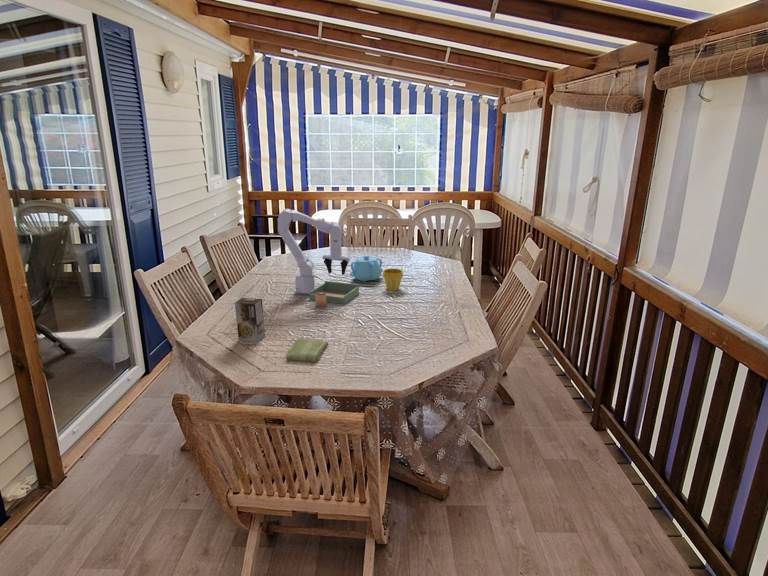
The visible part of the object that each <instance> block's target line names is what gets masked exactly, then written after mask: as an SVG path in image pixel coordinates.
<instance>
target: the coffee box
mask: <svg viewBox="0 0 768 576" xmlns="http://www.w3.org/2000/svg"><path fill="white" fill-rule="evenodd" d="M234 308H235V310H234V311H235V317H236V326H237V328H236V329H237V335H238V336H237V338H238V341H245V342H260V341H261V340H263V339H264V338H265V337H266V331H265V320H264V319H265V318H264V308H263V299H262V298H251V297H241V298H240V299H238V300H237V301H235V302H234Z"/></svg>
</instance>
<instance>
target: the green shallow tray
mask: <svg viewBox="0 0 768 576" xmlns="http://www.w3.org/2000/svg"><path fill="white" fill-rule="evenodd" d="M317 292H325V293H326V299H327V303H334V304H343V305H345V304H347V303H349V301H351V300H352V299H354V298H355V297H357V296H358V295H359V294H360V285H359V284H358V283H357V284H356V283H348V282H339V281H330V280H325V281H324V283H322V284H321V285H319V286H317V287H316V288H315V289H314V290H312V291H310V294H309V300H311V301H316V298H315V293H317Z"/></svg>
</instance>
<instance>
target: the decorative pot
mask: <svg viewBox="0 0 768 576" xmlns="http://www.w3.org/2000/svg"><path fill="white" fill-rule="evenodd" d="M378 261H379V262H378ZM382 265H383V260H382V259H380V258H375V257H372V256H370V255H365V254H364V255H363V257H362V256H360V257H358V258H356V259H355V261H354V260H353V261H352V262H351V263H350V269H351V272H350V273H349V275H350V277H353V278H354V279H356V280H358V281H361V282H362V283H365V282H367V281H377V279H380V277H381V275H382V273H383V271H384V270H383V268H382Z"/></svg>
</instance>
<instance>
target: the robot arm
mask: <svg viewBox="0 0 768 576" xmlns="http://www.w3.org/2000/svg"><path fill="white" fill-rule="evenodd" d="M291 222H303V223H305V224H309V225H310V226H314V228H315V230H318V231H320V232H321V233H322V232H323V233H325V234H329V237H330V238H329V247H330V248H329V251H330V254H324V255H322V260H323V264H324V265H325V267H326V269H327V272H328V274H332V271H333V270H332V263H333V261H340V262H339V263H340V268H341V275H342V276H343V275H344V276H345V274H346V269H347V266H348V265H349V263H350V261H351V257H349V256H344V255H342V252H343V251H342V236H341V234H342V228H341V225H339V224H338V223H337V222H336V223H334V222H330V221H328V220H326V219H325V218H322V217H321V218H317V219H316V218H313V217H311V216H309V215H307V214H304V213H302V212H300V211H297V210H295V209H291V208H284V209H283V210H282V211H280V213H279V215H278V217H277V232H278V234H279V235H280V237H281V239H282V240H283V242H284V243H285V245H286V246H287V248H288V250H289V252H290V253H291V254H292V256H293V258H294V260H295V261H296V263H297V266H298V268H299V273H298V274H296V276H295V280H294V281H295V283H294V284H295V291H294V292H295V293H299V294H306V295H307V294H309V295H310V291H312V290H314V289H315V273H314V272H313V270H314V267H315V266H314V263H313V262H312V261H311V260H310V259H309V258H308V257H307V256H306V255H305V253H304V252H303V250H302V248H301V246H300V245H299V244H298V242H297V241H296V239H295V238H294V236H293V234H292V233H291V231H290V229H289V228H290V225H291Z"/></svg>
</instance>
